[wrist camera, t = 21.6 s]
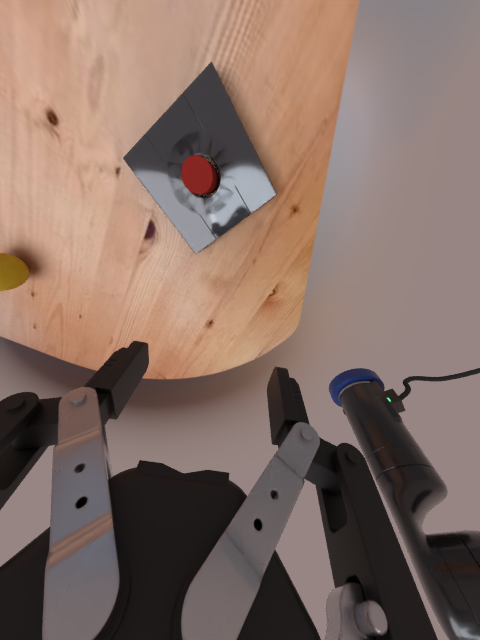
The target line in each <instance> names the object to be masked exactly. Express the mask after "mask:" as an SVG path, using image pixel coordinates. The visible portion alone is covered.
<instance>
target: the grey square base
mask: <svg viewBox="0 0 480 640" xmlns="http://www.w3.org/2000/svg"><path fill="white" fill-rule="evenodd" d="M193 155H198V156H201V157H207V158H211V159H212V160H213V161H214V162H215V163H216V165H217V166H218V168H219V173H220V185H219V187H218V189H217V191H216V193H215V194H213V195H212V196H211V197H208V198H203V197H200V196H199V195H197V194H195V193H192V192H191V191H189V190H188V189H187V188H186V186H185V185H184V183H183V181H182V177H181V168H182V165H183V163H184V161H185V160H186V159H187V158H188V157H190V156H193ZM123 159H124V160H125V162H126V163H127V164H128V166H129V167H130V168H131V170H132V171H133V172H134V174H135V175H136V176H137V178H138V179H139V180H140V181H141V183H142V184H143V185H144V187H145V188H146V189H147V191H148V192H149V193H150V195H151V196H152V197H153V199H154V200H155V201H156V203H157V204H158V205H159V207H160V208H161V209H162V210H163V212H164V213H165V214H166V216H167V217H168V218H169V220H170V221H171V222H172V224H173V225H174V226H175V228H176V229H177V230H178V232H179V233H180V234H181V235H182V237H183V238H184V239H185V241H186V242H187V243H188V245H189V246H190V247H191V249H192V250H193V251H194V253H195V254H197V253H198V252H200V251H201V250H202V249H204V248H205V247H207V246H208V245H209V244H211V243H212V242H213V241H215V240H216V239H217V238H219V237H220V236H222V235H223V234H224V233H226V232H227V231H228V230H230V229H231V228H232V227H234V226H235V225H236V224H238V223H239V222H241V221H242V220H243V219H245V218H246V217H247V216H249V215H250V214H251V213H253V212H254V211H255V210H257V209H258V208H260V207H261V206H262V205H264V204H265V203H266V202H268V201H269V200H270V199H272V198H273V197H274V196H276V192H275V190H274V188H273V186H272V184H271V182H270V180H269V178H268V176H267V174H266V172H265V170H264V168H263V166H262V164H261V162H260V160H259V158H258V156H257V154H256V151H255V149H254V147H253V145H252V143H251V141H250V139H249V137H248V135H247V133H246V131H245V129H244V127H243V125H242V123H241V121H240V119H239V117H238V115H237V113H236V111H235V108H234V106H233V104H232V102H231V100H230V98H229V96H228V94H227V92H226V90H225V88H224V86H223V84H222V82H221V80H220V78H219V76H218V74H217V72H216V70H215V67H214V65H213V63H212V62H211V63H210V64H209V65H208V66H207V67H206V68H205V69H204V70H203V71H202V73H201V74H200V75H199V76H198V77H197V78H196V79H195V80H194V81H193V82H192V83H191V85H190V86H189V87H188V88H187V89H186V90H185V91H184V92H183V94H181V95H180V97H179V98H178V99H177V100H176V101H175V102H174V103H173V104H172V105H171V106H170V107H169V109H168V110H167V111H166V112H165V113H164V114H163V115H162V116H161V117H160V118H159V119H158V121H157V122H156V123H155V124H154V125H153V126H152V127H151V128H150V129H149V130H148V131H147V133H146V134H145V135H144V136H143V137H142V138H141V139H140V140H139V141H138V142H137V143H136V144H135V146H134V147H133V148H132V149H131V150H130V151H129V152H128V153H127V154H126V155H125V156H124V158H123Z"/></svg>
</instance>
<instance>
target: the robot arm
mask: <svg viewBox="0 0 480 640" xmlns="http://www.w3.org/2000/svg"><path fill="white" fill-rule="evenodd" d="M148 364H149V354H148V343H145V342H139V341H133V342H132V343H131V344H130V346H129V347H128V348H121V349H119V350H118V351H116V352H114V353H113V354H112V355H111V357H110V358H109V359H108V360H107V361H106V362H105V363H104V365H103V366H102V367H101V368H100V369H99V370H98V371H97V372H96V374H95V375H94V376H93V377H92V378H91V379H90V380H89V381H88V383H86V385H85V386H84V387H81V388H77V389H75V390H72V391H70V392H68V393H67V394H66V395H64V396H63V397H58V398H49V399H39V398H38V396H37V395H36V394H35V393H32V392H22V393H17V394H14V395H11V396H9V397H7V398H5V399H3V400H2V401H0V510H1V508H2V507H3V506H4V504H5V503H6V502H7V500H8V499H9V498H10V496H11V495H12V494H13V493H14V491H15V490H16V488H17V487H18V486H19V485H20V483H21V482H22V481H23V479H24V478H25V476H26V475H27V474H28V472H29V471H30V470H31V469H32V467H33V466H34V465H35V463H36V462H37V461H38V459H39V458H40V457H41V455H42V454H43V453H44V451H45V450H46V448H47V447H48V446H51V445H55V446H54V450H53V469H52V496H51V520H50V527H49V528H48V529H47V530H45V531H44V532H43V533H42V534H40V535H39V536H38V537H37V538H36V539H34V540H33V541H32V542H31V543H29V544H28V545H27V546H26V547H24V548H23V549H22V550H21V551H19V552H18V553H17V554H16V555H14V556H13V557H12V558H11V559H10V560H8V561H7V562H6V563H5V564H3V565H2V566H1V567H0V640H321V639H320V636H319V634H318V632H317V629H316V627H315V626H314V623H313V622H312V619H311V617H310V616H309V614H308V612H307V610H306V608H305V606H304V604H303V602H302V600H301V598H300V596H299V594H298V593H297V590H296V589H295V587H294V585H293V583H292V581H291V579H290V577H289V575H288V573H287V571H286V569H285V567H284V565H283V563H282V562H281V560H280V558H279V556H278V554H277V552H276V550H275V548H276V546H277V543H278V541H279V539H280V537H281V534H282V532H283V530H284V528H285V525H286V523H287V521H288V518H289V516H290V514H291V512H292V510H293V507H294V505H295V503H296V501H297V499H298V496H299V494H300V492H301V490H302V487H303V485H304V479H306V480H308V481H310V482H311V483H313V484H315V485H316V489H317V495H318V500H319V505H320V511H321V516H322V521H323V527H324V531H325V537H326V542H327V548H328V553H329V559H330V564H331V569H332V574H333V580H334V585H335V589H333V590H332V591H331V592H330V593H329V596H328V599H327V604H326V613H327V631H326V636H325V640H438V639H437V637H436V634H435V632H434V629H433V627H432V624H431V622H430V619H429V617H428V614H427V612H426V609H425V607H424V604H423V602H422V599H421V597H420V594H419V592H418V590H417V587H416V584H415V582H414V580H413V577H412V574H411V572H410V569H409V567H408V564H407V562H406V559H405V557H404V554H403V552H402V550H401V547H400V544H399V542H398V539H397V537H396V535H395V532H394V530H393V527H392V525H391V522H390V520H389V518H388V515H387V512H386V510H385V507H384V505H383V502H382V500H381V497H380V495H379V492H378V490H377V487H376V485H375V482H374V480H373V477H372V475H371V473H370V470H369V467H370V469H371V471H372V473H373V475H374V477H375V480H376V482H377V484H378V486H379V488H380V490H381V492H382V494H383V497H384V499H385V501H386V503H387V505H388V507H389V509H390V511H391V514H392V516H393V518H394V520H395V523H396V525H397V527H398V530H399V532H400V534H401V537H402V539H403V541H404V544H405V546H406V548H407V551H408V553H409V556H410V558H411V561H412V563H413V566H414V568H415V571H416V573H417V575H418V578H419V580H420V583H421V585H422V588H423V590H424V592H425V594H426V596H427V599H428V601H429V603H430V606H431V608H432V610H433V612H434V614H435V616H436V618H437V620H438V622H439V624H440V625H441V627H442V629H443V631H444V632H445V634H446V635H447V637H448V638H449V640H480V532H479V531H456V532H446V533H437V534H430V535H426V534H425V533H424V532H423V530H422V523H423V521H424V518H425V517H426V515H427V514H428V512H429V511H430V510H431V509H432V508H434V507H435V506H436V505H438V504H439V503H440V502H442V501H443V500H444V499H445V498H446V496H447V493H448V491H447V487H446V485H445V483H444V482H443V480H442V479H441V477H440V476H439V474H438V473H437V472H436V470H435V469H434V467H433V466H432V464H431V463H430V461H429V460H428V458H427V457H426V456H425V454H424V453H423V451H422V450H421V449H420V447H419V445H418V444H417V443H416V441H415V440H414V438H413V437H412V435H411V434H410V432H409V431H408V430H407V428H406V427H405V425H404V424H403V421H402V419H401V417H400V415H399V414H398V413H399V412H403V411H405V409H404V406H403V403H402V400H403V399H404V398H405V397H407V396H408V394H409V393H410V391H411V388H410V386H409V384H408V383H409V382H410V381H414V380H422V381H446V380H452V379H457V378H461V377H466V376H470V375H474V374H478V373H480V368H478V369H475V370H471V371H467V372H463V373H459V374H454V375H449V376H444V377H423V376H412V377H408V378H406V379H404V380H403V385H404V386H405V391H404V392H403V393H402V394H401V395H400V396H397V394H396V393H395V391H394V390H393V389H390V390H387V391H384V392H383V391H382V389H381V388H380V387H379V385H378V384H377V382H376V381H375V379H371V380H357V381H353V382H350V383H348V384H346V385H345V386H343V387H342V388H341V389H340V391H339V392H338V400H339V402H340V403H341V406H342V408H343V412H344V414H345V415H346V416H347V418H348V421H349V423H350V425H351V427H352V429H353V431H354V434H355V436H356V438H357V440H358V442H359V445H360V447H361V449H362V451H363V453H364V455H365V458H366V460H367V462H368V464H369V467H368V465H367V463H366V460H365V458H364V457H363V455H362V454H361V452H360V451H359V450H358V449H357V448H355V447H354V446H352V445H350V444H348V443H341V444H339V445H338V446H335V445H333V444H331V443H329V442H327V441H324V440H323V439H321V438H320V437H319V436H318V434H317V432H316V431H315V430H314V428H313V427H311V426H310V424H309V421H308V417H307V413H306V410H305V406H304V402H303V400H302V399H303V398H302V395H301V391H300V387H299V385H298V383H297V382H296V380H295V379H294V378H289V374H288V370H287V369H286V368H280V367H275V368H274V370H273V372H272V375H271V377H270V380H269V382H268V387H267V397H268V408H269V418H270V429H271V439H272V444H273V445H278V448H279V449H278V451H277V452H276V454H275V455H274V456H273V458H272V459H271V461H270V462H269V464H268V465H267V467H266V468H265V470H264V472H263V473H262V475H261V476H260V478H259V479H258V481H257V482H256V484H255V485H254V487H253V489H252V490H251V492H250V493H249V495H248V496H247V495H246V494H245V493H244V492H243V490H242V489H241V488H240V487H238V486H237V485H236V484H234V483H233V482H232V481H230V480H229V473H226V472H219V471H212V470H204V471H197V472H191V473H185V474H184V473H181V472H178V471H177V470H175V469H173V468H171V467H168V466H167V465H164V464H162V463H156V462H149V461H141V460H140V461H139V464H138V466H137V467H136V468H132V469H128V470H125V471H123V472H120V473H119V474H117V475H115V476H113V474H112V469H111V464H110V459H109V452H108V445H107V438H106V432H105V424H106V422H107V421H108V419H117V418H118V417H119V415H120V413H121V412H122V410H123V408H124V407H125V405H126V403H127V402H128V400H129V398H130V397H131V395H132V393H133V392H134V390H135V388H136V387H137V385H138V384H139V382H140V380H141V379H142V377H143V375H144V374H145V372H146V370H147V368H148Z"/></svg>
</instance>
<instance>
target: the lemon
mask: <svg viewBox="0 0 480 640" xmlns="http://www.w3.org/2000/svg"><path fill="white" fill-rule="evenodd" d="M28 276H29V270H28V267H27V266H26V264H25V263H24V262H23V261H22V260H20V259H19V258H17V257H15V256H12V255H9V254H4V253H0V291H4V290H10V289H13V288H16V287H18V286H20V285H22V284H23V283H25V281H26V280H27V279H28Z"/></svg>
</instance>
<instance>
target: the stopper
mask: <svg viewBox="0 0 480 640" xmlns="http://www.w3.org/2000/svg"><path fill="white" fill-rule="evenodd" d="M181 177H182V181H183V183H184V185H185V186H186V188H187V189H188V190H189V191H191V192H192V193H195V194H211V193H213V192H214V191H215V190H216V189H217V187H218V183H219V177H218V173H217V171H216V169H215V168H214V167H213V166H212V165H211V164H210V163H209V162H208V161H207V160H205V159H204V158H203V157H201V156H198V155H193V156H190V157H188V158H187V159H186V160H185V161H184V163H183V165H182V168H181Z"/></svg>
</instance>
